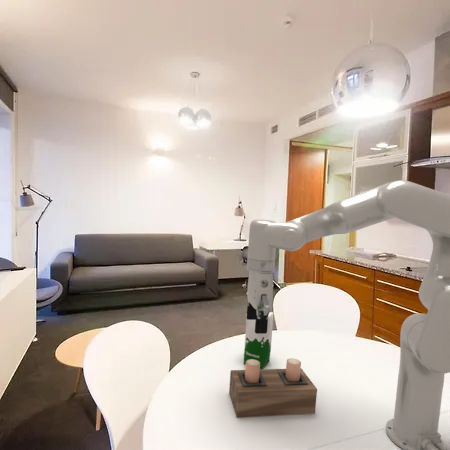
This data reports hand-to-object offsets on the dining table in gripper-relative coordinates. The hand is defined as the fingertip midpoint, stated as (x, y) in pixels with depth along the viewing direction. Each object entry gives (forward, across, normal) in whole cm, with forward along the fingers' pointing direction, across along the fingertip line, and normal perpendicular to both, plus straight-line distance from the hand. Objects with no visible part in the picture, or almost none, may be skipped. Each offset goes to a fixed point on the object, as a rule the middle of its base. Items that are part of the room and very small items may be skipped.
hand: (256, 325), depth 92 cm
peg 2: (+17, 0, -12) cm, 21 cm away
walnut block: (+22, 0, -6) cm, 23 cm away
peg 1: (+18, 0, 0) cm, 18 cm away
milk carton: (+23, +23, -8) cm, 33 cm away
